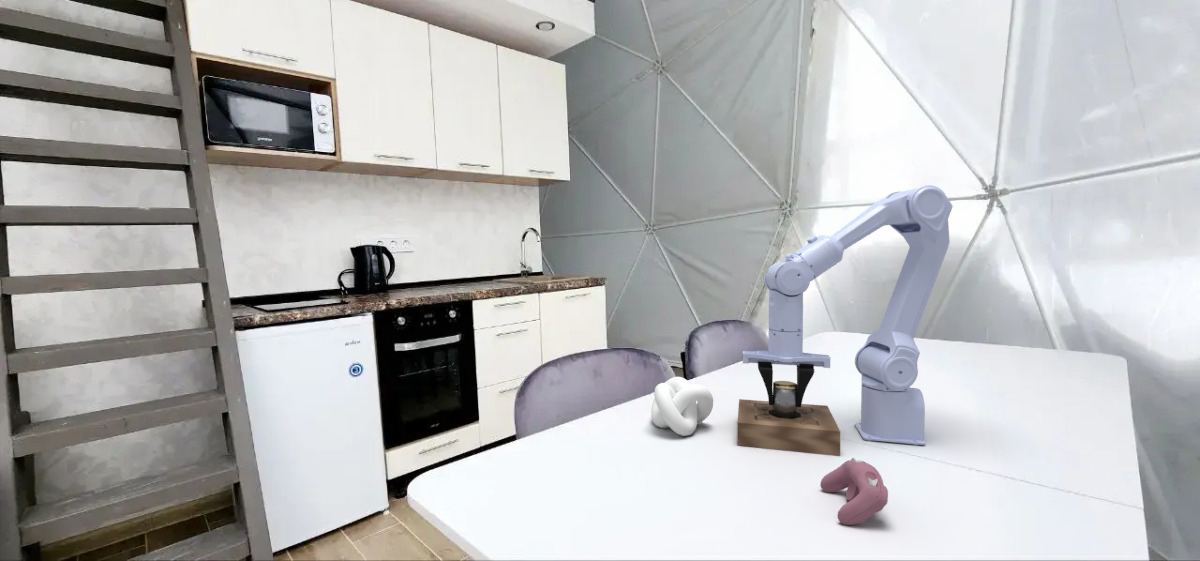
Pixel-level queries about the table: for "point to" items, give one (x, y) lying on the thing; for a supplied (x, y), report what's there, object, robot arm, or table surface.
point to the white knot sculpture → (680, 405)
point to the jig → (788, 428)
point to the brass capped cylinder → (785, 399)
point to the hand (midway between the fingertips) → (784, 404)
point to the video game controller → (857, 490)
